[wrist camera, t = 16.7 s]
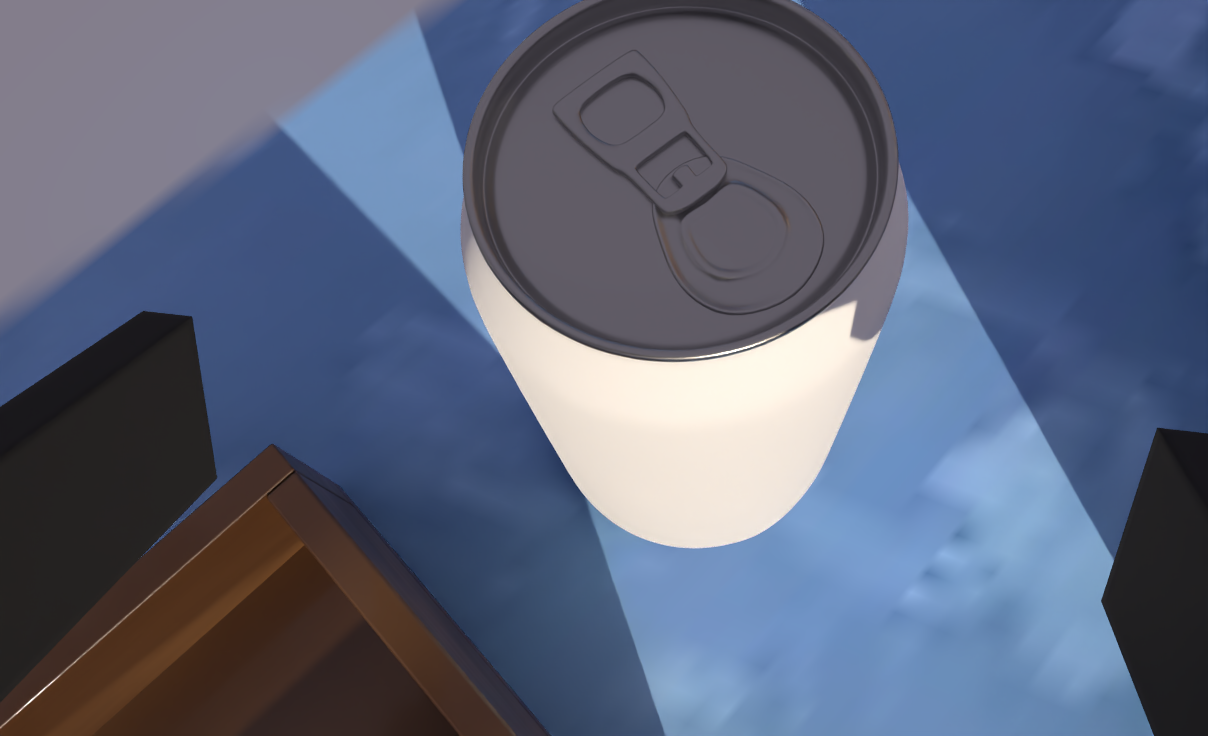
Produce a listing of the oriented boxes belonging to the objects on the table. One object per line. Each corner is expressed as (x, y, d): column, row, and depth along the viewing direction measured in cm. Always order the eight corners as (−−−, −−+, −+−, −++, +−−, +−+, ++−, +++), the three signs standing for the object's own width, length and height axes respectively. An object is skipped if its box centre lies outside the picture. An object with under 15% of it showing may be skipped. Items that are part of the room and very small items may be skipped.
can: (671, 611, 23) (631, 504, 12) (505, 398, 25) (337, 132, 14) (889, 436, 24) (1048, 178, 13) (712, 243, 26) (710, -127, 15)
